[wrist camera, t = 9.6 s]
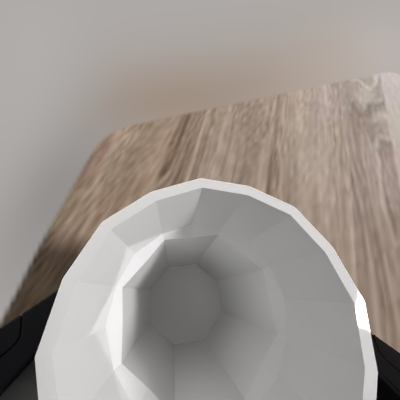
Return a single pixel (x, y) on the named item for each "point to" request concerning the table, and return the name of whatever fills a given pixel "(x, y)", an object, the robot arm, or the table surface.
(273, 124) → the table surface
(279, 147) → the table surface
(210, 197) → the cup
